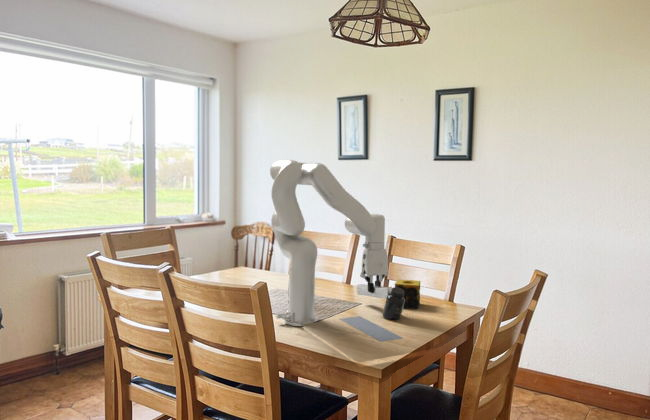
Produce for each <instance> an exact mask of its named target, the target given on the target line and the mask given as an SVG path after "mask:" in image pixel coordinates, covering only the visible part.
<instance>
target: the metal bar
mask: <svg viewBox="0 0 650 420" xmlns="http://www.w3.org/2000/svg"><path fill="white" fill-rule="evenodd" d="M392 288H393V287H388V286H382V285H381V286H375V285H374V292H373V293H370V292H368V284H365V283H364V284H363V283H361V284H356V293H357V296H365V297H370V298H371V297H372V298H377V299H383V300H386V299H387V296H388V295H389V294H390V293H391V291H392Z"/></svg>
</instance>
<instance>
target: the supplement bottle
mask: <svg viewBox="0 0 650 420" xmlns="http://www.w3.org/2000/svg"><path fill="white" fill-rule="evenodd" d="M391 288H392V291H391V293H390V294H389V295H388V296H387V299H385V303H384V308H383V311H382V318H383V319H385V320H386V321H399V320H401V317H402V314H403V311H404V308H403V307H404V303H405V299H404V293H405V292H404V290H403V289H401V288H398V287H395V286H394V287H391Z"/></svg>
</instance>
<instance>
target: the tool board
mask: <svg viewBox="0 0 650 420" xmlns="http://www.w3.org/2000/svg"><path fill="white" fill-rule="evenodd" d="M339 321H342V322H344V323H346V324H347V325H349V326H351V327H353V328H355V329H356V330H358V331H360V332H361V333H364V334H366V335H367V336H369V337H371V338H373V339H374V340H377V341H378V342H380V343H382V342H387V341H394V340H400V339H404V337H402V336H401V335H398V334H396V333H395V332H393V331H391V330H389V329H387V328H384V327H383V326H380V325H379V324H376V323H375V322H372V321H370V320H369V319H366V318H365V317H362V316H358V315H357V316H351V317H342V318H339Z"/></svg>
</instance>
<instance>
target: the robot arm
mask: <svg viewBox="0 0 650 420" xmlns="http://www.w3.org/2000/svg"><path fill="white" fill-rule="evenodd" d="M269 174H270V177H271V178H272V180H273V184H272V186H271V200H272V203H273V206H274V210H275V212H273V214H272V216H271V221H270V222H271V227H272V231H273V233H274V236H275V238H276V242H277V244H278V247H279V249H280V251H281V254H282V255H283V256H284V257H286V258H287V259H289V260H291V261H290V267H289V271H288V308H287V309H285V311H284V312H279V313H276V315H275V317H276V319H277V320H279V319H282V320H283V321H284V323H285V324H286V325H288V326H291V327H292V326H293V327H304V325H305V324H312V323H316V322H318V320H319V317H318V316H316V315H315V309H316V307H315V297H316V294H315V289H316V265H317V264H316V263H317V259H318V247H317V244H316V243H315V241H313V240H312V239H311V238H308V237H306V236H304V235H301V234H302V233H303V232H304V230H305V227H306V221H305V218H304V215H303V212H302V210H301V208H300V205H299V202H298V199H297V194H296V189H297V186H298V185H301V186H302V185H303V186H312V187H313V189H314V190H315V192H317V194H319V196H320V197H321V198H322V200H323V201H324V202H325V203H326V205H327V206H329V207H330V208H331V209H333V210H334V211H337V212H339V213H340V214H341V215H343V216H345V217H346V219H345V220H344V228H345V229H346V230H347V231H348V232H349V233H350V234H351V233H352V234H354V235H359V236H363V237H365V238H364V243H363V244H362V247H363V248H364V249H363V252H362V257H361V272H360V275H359V277H360V278H362V279H364V280H365V281H366V282H367V285H368V292H370V293H373V292H374V286H381V287H382V282H383V280H384V278H385V277H387V276H388V275H389V257H388V252H387V249H386V248H385V242H386V241H385V239H386V237H385V231H386V230H385V227H386V224H385V223H386V222H385V221H386V218H385V216H384V215H383V214H379V213H378V214H377V213H376V214H374V213H373V214H371V213H370V211H368V210H367V208H366V207H365V206H364V205H363V204H362V203H361V202H360V201H359V200H358V199H356V197H354V196H352V194H350V193H349V192H347V190H346V189H345V188H344V187H343V186H342V184H341V183H340V182H339V181H338V179H337V178H336V177H335V175H334V174H333V173H332V172H331V170H330V169H329V168H328V167H327V166H326V165H325V164H323V163H320V162H298V161H297V160H293V159H279V160H277V161H275V162H273V164H271V166H270V169H269ZM374 276H375V281H374ZM303 324H304V325H303Z"/></svg>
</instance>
